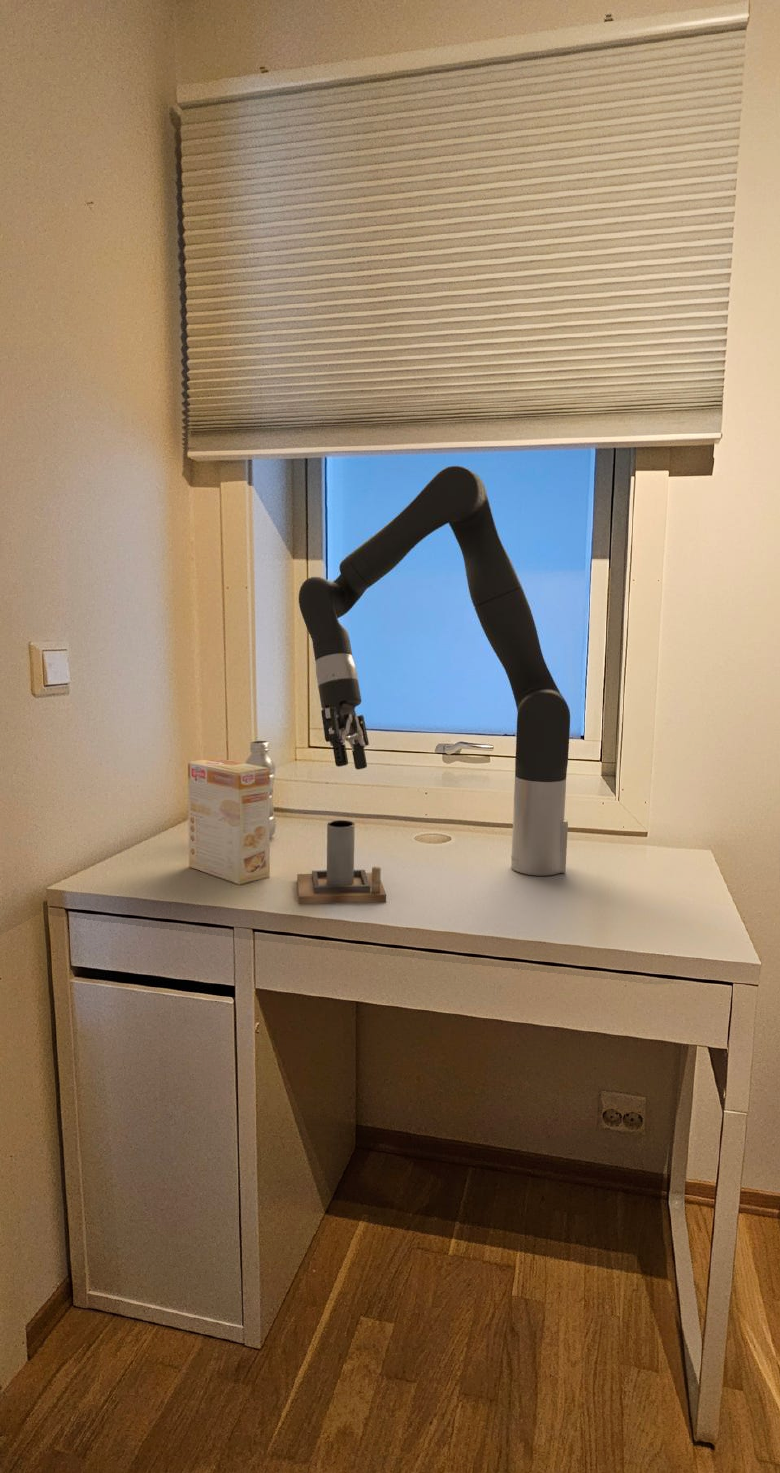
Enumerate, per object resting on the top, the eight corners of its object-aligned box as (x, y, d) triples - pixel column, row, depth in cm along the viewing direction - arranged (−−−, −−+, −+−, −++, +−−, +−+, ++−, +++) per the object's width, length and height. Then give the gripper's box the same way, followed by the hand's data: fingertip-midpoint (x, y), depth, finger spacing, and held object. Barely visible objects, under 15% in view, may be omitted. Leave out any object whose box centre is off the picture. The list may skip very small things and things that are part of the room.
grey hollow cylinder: (349, 888, 139) (350, 827, 138) (323, 886, 140) (324, 825, 139) (356, 880, 144) (357, 821, 142) (330, 878, 145) (331, 819, 143)
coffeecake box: (271, 877, 149) (271, 767, 146) (238, 885, 144) (238, 772, 141) (219, 859, 159) (218, 756, 156) (187, 867, 153) (186, 761, 151)
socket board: (377, 879, 149) (378, 850, 148) (386, 901, 137) (386, 870, 136) (297, 880, 147) (297, 851, 146) (298, 903, 135) (299, 872, 134)
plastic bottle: (282, 837, 176) (282, 741, 173) (261, 844, 170) (260, 745, 167) (258, 832, 179) (258, 738, 176) (236, 839, 173) (236, 742, 170)
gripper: (339, 671, 150) (354, 760, 147) (370, 683, 163) (385, 765, 160) (302, 681, 152) (316, 769, 150) (336, 692, 166) (349, 773, 163)
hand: (352, 767), depth 155 cm, fingers open, 8 cm apart
